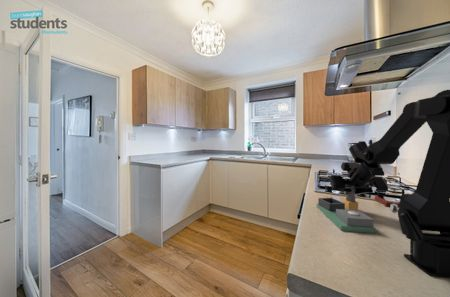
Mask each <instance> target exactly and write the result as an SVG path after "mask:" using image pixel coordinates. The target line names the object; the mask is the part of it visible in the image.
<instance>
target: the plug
mask: <svg viewBox="0 0 450 297" xmlns="http://www.w3.org/2000/svg"><path fill="white" fill-rule="evenodd" d="M355 190H356V188H354V187H352V188H351V191H352V192H350V193H348V194H345V198H343V199H342V200H343V201H342V202H343V203H345V208H347V209H348V210H359V202H358V201H356V195H355Z"/></svg>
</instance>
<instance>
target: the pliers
mask: <svg viewBox="0 0 450 297" xmlns="http://www.w3.org/2000/svg"><path fill="white" fill-rule="evenodd" d="M375 200H376V201H375ZM374 201H375V202H377V203H379V204H382V205H383V206H384V207H385V208H390V211H391V212H393V211H394V210H396V211H397V212H398V210H399V208H398V207H397V206H398V205H399V203H400V201H398V202H395V203H393V202H392V201H389V200H386V199H384V198H382V197H379V195H375V196H374Z"/></svg>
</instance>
